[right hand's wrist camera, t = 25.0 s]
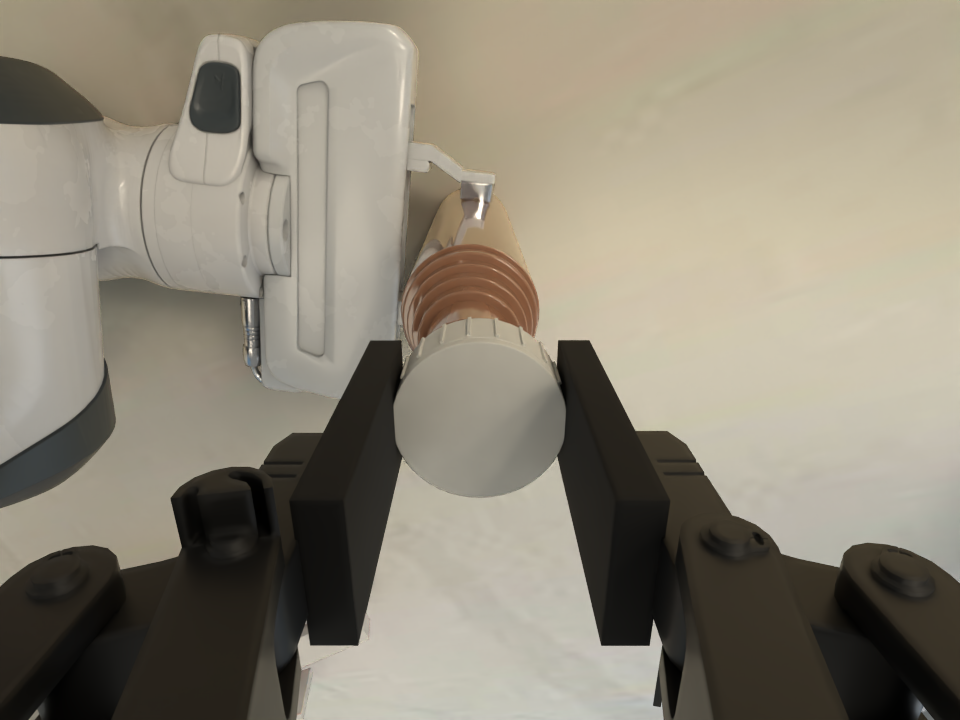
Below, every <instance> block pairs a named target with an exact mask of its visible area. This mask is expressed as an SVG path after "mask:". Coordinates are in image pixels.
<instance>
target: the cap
mask: <svg viewBox="0 0 960 720" xmlns="http://www.w3.org/2000/svg"><path fill="white" fill-rule="evenodd" d="M400 378H401V381H400V384H399V387H398V390H397V394H396V397H395V400H394V403H393V408H394V425H395V440H396V445H397V447H398V449H399V451H400V453H401V455H402V457H403V458H404V460H405V461H406V463H407V464H408V465H409V466H410V468H411V469H412V470H413V471H414V472H415V473H416V474H417V475H419V476H420V477H421V478H422V479H424V480H425V481H426V482H428V483H429V484H431V485H433V486H435V487H436V488H438V489H441V490H443V491H446V492H448V493H452V494H455V495H459V496H465V497H477V498H483V497H494V496H499V495H504V494H507V493H511V492H513V491H516V490H518V489H521V488H523V487H524V486H526V485H528V484H530V483H531V482H533V481H534V480H535V479H537V478H538V477H539V476H541V475H542V474H543V473H544V472H545V471H546V470H547V469H548V468H549V466H550V465H551V464H552V463H553V461H554V460H555V458H556V457H557V455H558V453H559V451H560V449H561V447H562V445H563V442H564V435H565V419H566V404H565V400H564V397H563V393H562V390H561V387H560V384H562V382H561V379H560V376H559V373H558V370H557V366H556V363H555V361H554V362H552V361H551V359H550V357H549V355H548V354H547V352H546V351H545V349H544V347H543V343H542V342H541V341H540V342H538V341H537V340H536V339H534V338H533V337H532V336H531V335H530V334H528V333H527V332H525V331H524V330H523V328H522V327H521V326H519V328H518V327H516V326H514V325H512V324H509V323H506V322H503V321H499V320H498V318H494V319H486V318H474V319H471V317H468V319H465V320H460V321H456V322H453V323H450V324H447V325H446V324H443V325H442V327H441V328H439V329H437V330H435V331H434V332H432V333H431V334H429V335H428V336H427V337H426V338H424V337H422V338H421V341H420V343H419V345H418V346H417V347H416V348H415V349H414V351H413V352H412V354H411V355H410V357H409V356H407V357H406V360H405V363H404V366H403V369H402V372H401V376H400Z"/></svg>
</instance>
